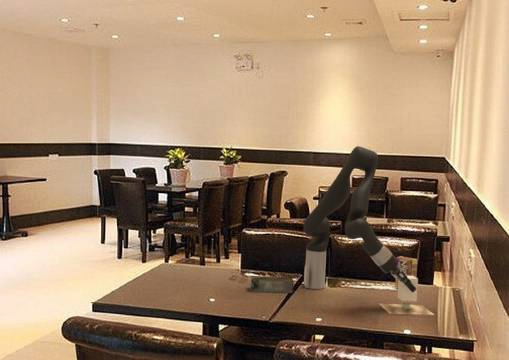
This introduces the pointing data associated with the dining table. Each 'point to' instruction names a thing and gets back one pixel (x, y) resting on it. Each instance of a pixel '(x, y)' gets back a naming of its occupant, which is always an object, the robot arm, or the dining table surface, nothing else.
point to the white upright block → (407, 290)
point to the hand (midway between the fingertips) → (411, 288)
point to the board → (413, 310)
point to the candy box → (407, 266)
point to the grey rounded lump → (405, 306)
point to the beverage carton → (271, 284)
